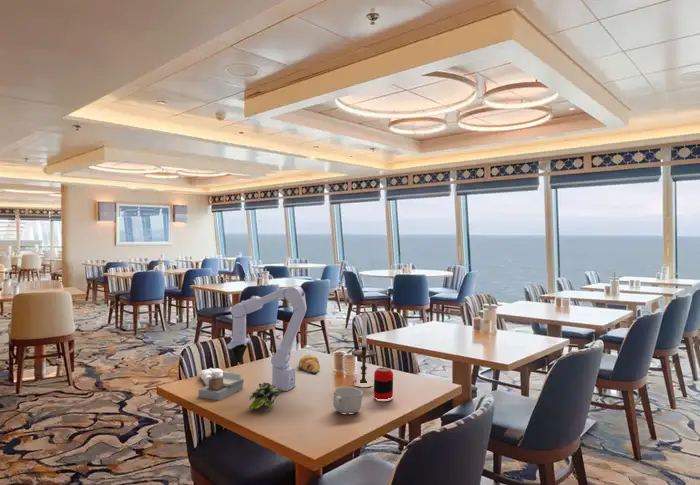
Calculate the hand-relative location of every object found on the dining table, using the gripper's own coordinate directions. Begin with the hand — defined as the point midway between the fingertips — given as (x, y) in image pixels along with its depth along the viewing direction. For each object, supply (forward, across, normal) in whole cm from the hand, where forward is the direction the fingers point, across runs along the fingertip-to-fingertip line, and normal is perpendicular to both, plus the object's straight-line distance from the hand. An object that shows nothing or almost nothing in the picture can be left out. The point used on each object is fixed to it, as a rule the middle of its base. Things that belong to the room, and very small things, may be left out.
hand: (238, 362), depth 210 cm
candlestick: (+10, -24, +49) cm, 55 cm away
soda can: (+10, -9, +63) cm, 64 cm away
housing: (+10, +12, 0) cm, 16 cm away
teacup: (+10, +12, +55) cm, 57 cm away
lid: (+7, +8, 0) cm, 11 cm away
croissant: (+10, -37, +15) cm, 42 cm away
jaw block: (+10, +16, 0) cm, 19 cm away
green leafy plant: (+10, +20, +26) cm, 34 cm away
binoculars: (+10, -1, -14) cm, 18 cm away
